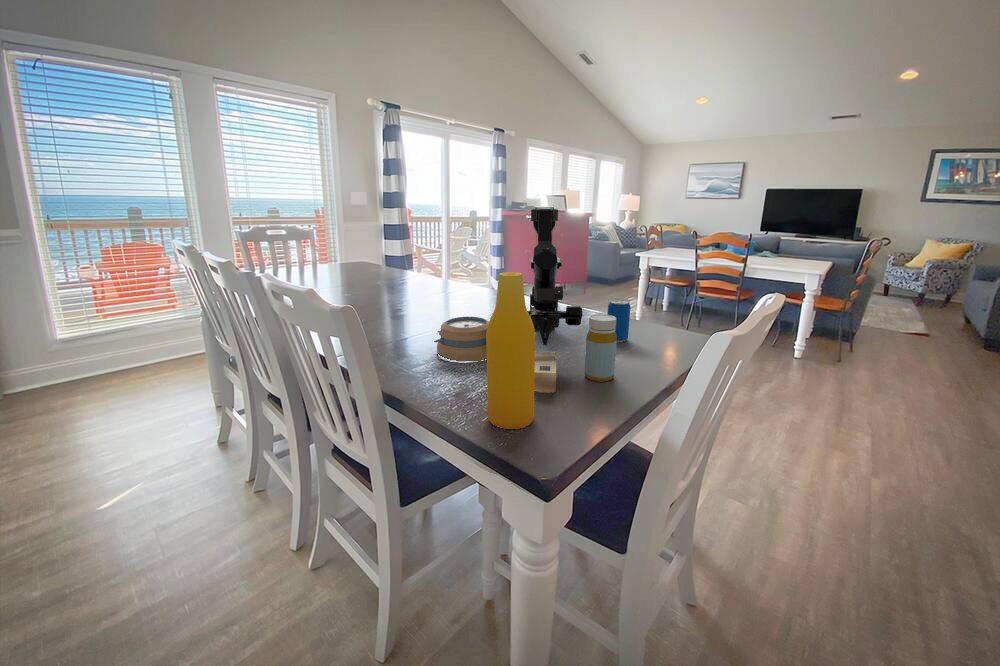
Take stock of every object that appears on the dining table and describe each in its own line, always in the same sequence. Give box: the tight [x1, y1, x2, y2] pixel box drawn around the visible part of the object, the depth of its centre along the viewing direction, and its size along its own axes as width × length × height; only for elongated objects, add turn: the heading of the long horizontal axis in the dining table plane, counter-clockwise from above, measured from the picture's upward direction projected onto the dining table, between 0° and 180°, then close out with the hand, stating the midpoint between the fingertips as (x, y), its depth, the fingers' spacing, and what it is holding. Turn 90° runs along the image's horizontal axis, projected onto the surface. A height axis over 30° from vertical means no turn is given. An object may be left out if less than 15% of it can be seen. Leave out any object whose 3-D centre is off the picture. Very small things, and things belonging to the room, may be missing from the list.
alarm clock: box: [433, 316, 490, 361], centre depth 125 cm, size 17×9×23 cm
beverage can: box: [607, 299, 631, 343], centre depth 134 cm, size 6×6×12 cm
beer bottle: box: [486, 271, 536, 430], centre depth 84 cm, size 9×9×29 cm
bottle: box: [584, 313, 618, 383], centre depth 106 cm, size 7×7×15 cm
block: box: [534, 350, 557, 393], centre depth 106 cm, size 5×5×14 cm
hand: (544, 344), depth 111 cm, fingers closed
